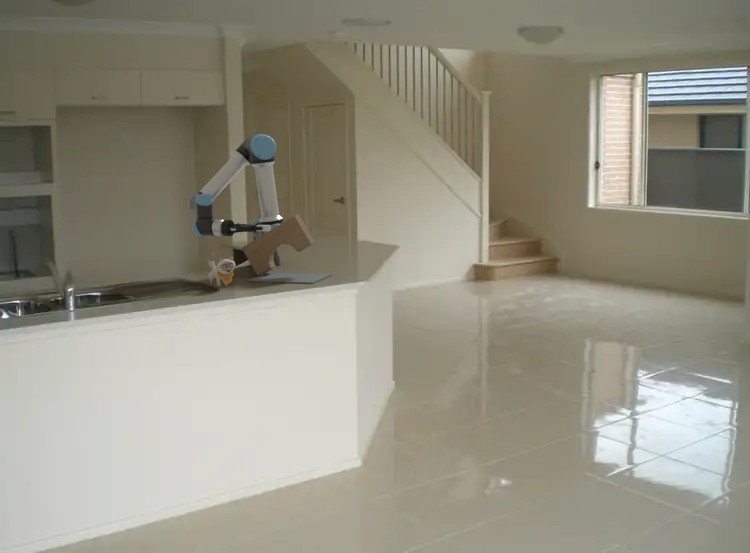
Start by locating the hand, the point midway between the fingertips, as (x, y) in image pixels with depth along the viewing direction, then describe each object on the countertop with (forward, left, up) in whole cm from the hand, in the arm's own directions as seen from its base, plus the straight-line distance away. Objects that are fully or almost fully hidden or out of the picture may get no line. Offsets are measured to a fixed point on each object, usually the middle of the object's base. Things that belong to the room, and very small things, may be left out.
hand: (269, 228), depth 407 cm
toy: (+30, -11, -22) cm, 39 cm away
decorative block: (-1, -10, -16) cm, 19 cm away
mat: (+5, +11, -22) cm, 25 cm away
